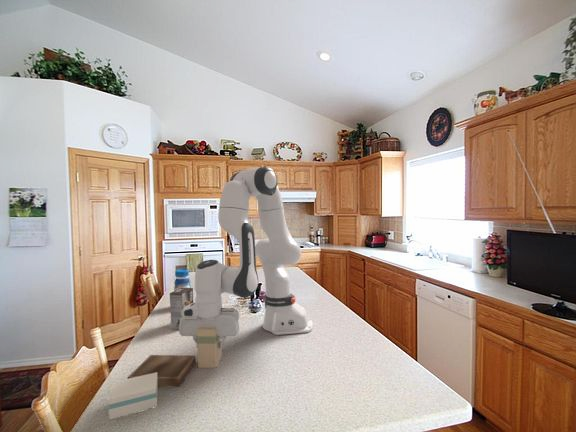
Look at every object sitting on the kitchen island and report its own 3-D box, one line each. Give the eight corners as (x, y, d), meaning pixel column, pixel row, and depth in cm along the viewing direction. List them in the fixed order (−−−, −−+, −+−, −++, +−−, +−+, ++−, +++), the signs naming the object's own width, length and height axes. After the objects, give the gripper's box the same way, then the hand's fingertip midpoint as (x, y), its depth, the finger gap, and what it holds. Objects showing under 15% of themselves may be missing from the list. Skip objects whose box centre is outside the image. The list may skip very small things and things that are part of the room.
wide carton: (158, 390, 83) (157, 372, 83) (157, 408, 76) (156, 388, 76) (114, 400, 79) (113, 381, 79) (109, 421, 71) (108, 400, 71)
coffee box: (182, 320, 134) (181, 287, 133) (194, 321, 132) (193, 287, 132) (170, 328, 125) (169, 293, 124) (183, 329, 123) (182, 293, 123)
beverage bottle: (193, 304, 156) (192, 268, 155) (187, 309, 147) (185, 272, 147) (179, 303, 157) (178, 268, 156) (171, 309, 148) (170, 271, 148)
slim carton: (222, 356, 101) (221, 321, 100) (215, 368, 94) (214, 329, 93) (205, 356, 101) (204, 320, 101) (197, 367, 94) (196, 329, 93)
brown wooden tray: (195, 362, 97) (195, 355, 97) (179, 386, 84) (178, 378, 84) (150, 361, 98) (150, 354, 98) (127, 385, 85) (127, 377, 85)
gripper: (240, 304, 99) (241, 343, 100) (184, 304, 100) (185, 342, 101) (236, 311, 93) (237, 352, 93) (176, 311, 94) (177, 351, 95)
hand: (210, 347), depth 97 cm, fingers closed on slim carton, 6 cm apart
